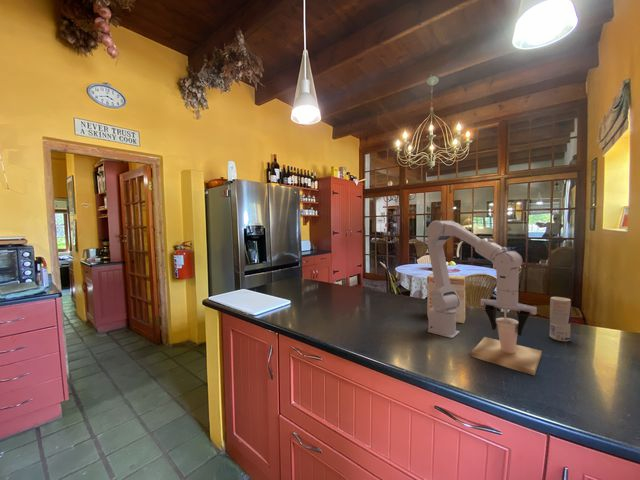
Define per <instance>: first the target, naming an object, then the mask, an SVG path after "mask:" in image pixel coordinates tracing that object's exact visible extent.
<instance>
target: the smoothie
mask: <svg viewBox="0 0 640 480" xmlns="http://www.w3.org/2000/svg"><path fill="white" fill-rule="evenodd" d="M503 313H504V314H503V315H504V317H498V318H497V317H496V322H495V323H496V329H497V334H498V338H499V339H498V340H500V345H501V350H502V351H504V352H507V353H515V351H516V345H517V342H518V341H517V340H518V326H519V324H518V319H517V320H516V319H515V318H512V317H511V318H510V317H507V309H506V308H505V309H503Z"/></svg>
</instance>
